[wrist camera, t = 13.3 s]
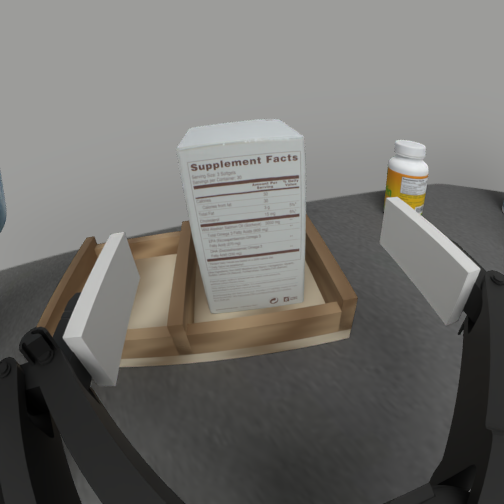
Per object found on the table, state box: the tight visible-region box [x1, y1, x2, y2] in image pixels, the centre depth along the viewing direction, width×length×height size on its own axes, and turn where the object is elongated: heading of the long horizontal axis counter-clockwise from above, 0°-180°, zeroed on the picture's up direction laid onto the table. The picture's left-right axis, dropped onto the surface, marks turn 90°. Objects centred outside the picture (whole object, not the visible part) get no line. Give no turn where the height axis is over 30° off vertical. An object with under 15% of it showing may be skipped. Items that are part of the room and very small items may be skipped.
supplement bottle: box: [384, 140, 429, 215], centre depth 32 cm, size 5×5×10 cm
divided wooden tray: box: [36, 214, 358, 367], centre depth 24 cm, size 23×14×4 cm, turn 97°
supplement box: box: [176, 119, 306, 314], centre depth 21 cm, size 7×7×13 cm
